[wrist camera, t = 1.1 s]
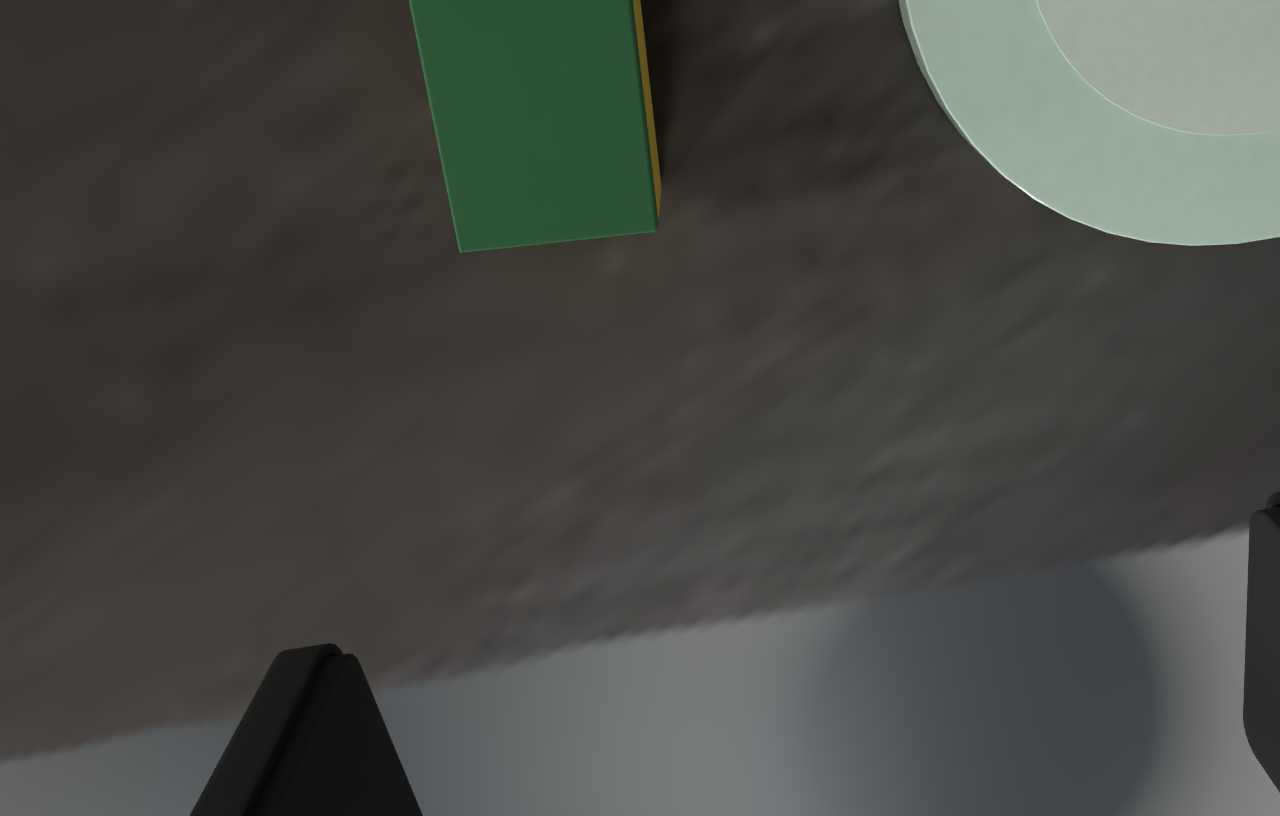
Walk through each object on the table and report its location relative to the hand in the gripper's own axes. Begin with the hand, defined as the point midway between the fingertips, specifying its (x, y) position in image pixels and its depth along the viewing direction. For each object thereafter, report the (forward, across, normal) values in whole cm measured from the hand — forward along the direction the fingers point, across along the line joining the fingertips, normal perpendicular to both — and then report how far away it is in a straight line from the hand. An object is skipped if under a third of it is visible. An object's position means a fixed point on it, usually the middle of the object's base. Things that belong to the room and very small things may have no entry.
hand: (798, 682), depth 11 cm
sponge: (+21, +4, -5) cm, 22 cm away
